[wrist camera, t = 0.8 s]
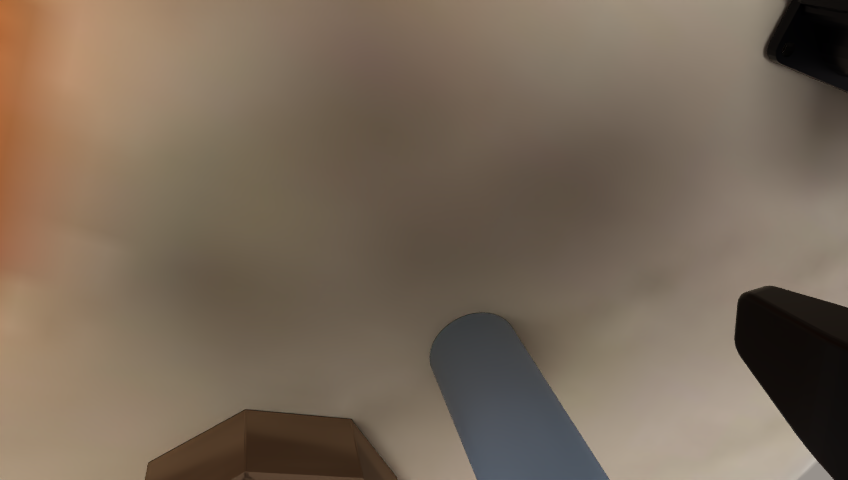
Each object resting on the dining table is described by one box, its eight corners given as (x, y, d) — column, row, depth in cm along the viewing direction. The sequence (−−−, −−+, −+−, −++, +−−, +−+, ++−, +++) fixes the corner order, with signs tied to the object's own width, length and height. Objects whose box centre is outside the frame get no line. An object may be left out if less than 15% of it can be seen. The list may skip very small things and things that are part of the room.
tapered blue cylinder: (529, 320, 25) (657, 504, 17) (495, 390, 26) (601, 591, 18) (448, 306, 23) (547, 500, 16) (417, 381, 25) (494, 593, 17)
